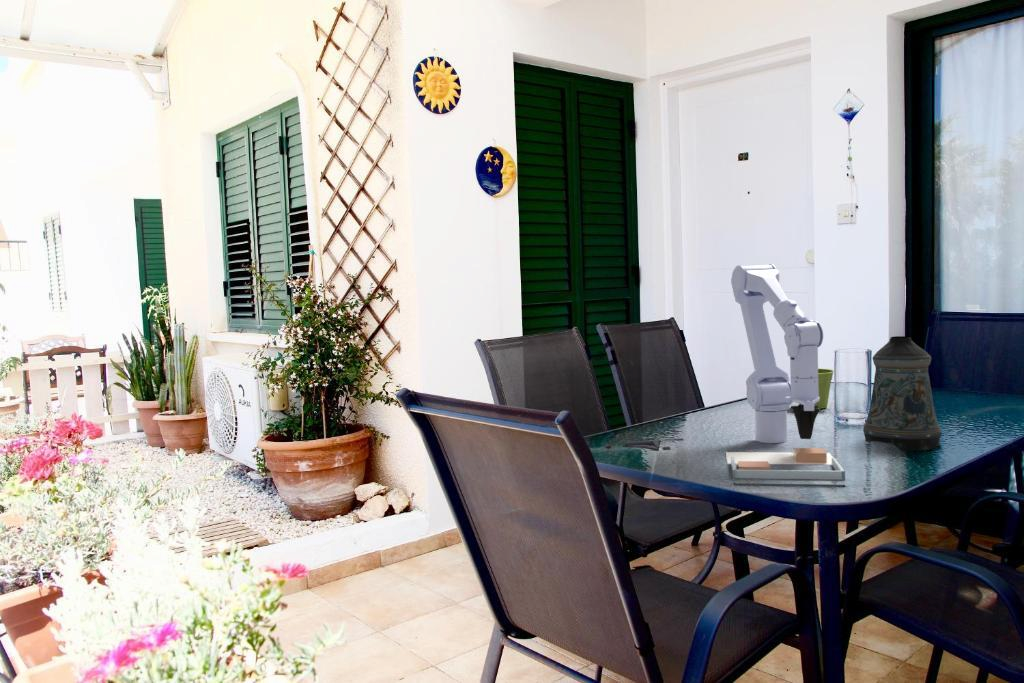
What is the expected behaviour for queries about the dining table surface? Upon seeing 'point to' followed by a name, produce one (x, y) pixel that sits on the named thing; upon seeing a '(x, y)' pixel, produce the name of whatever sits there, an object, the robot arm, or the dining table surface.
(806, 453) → the terracotta tile
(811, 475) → the tray
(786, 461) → the cream plate
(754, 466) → the terracotta tile
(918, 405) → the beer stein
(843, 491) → the dining table surface
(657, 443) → the bracket
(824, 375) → the plant pot
